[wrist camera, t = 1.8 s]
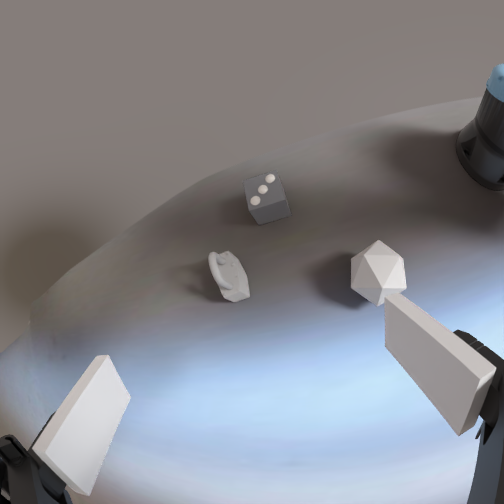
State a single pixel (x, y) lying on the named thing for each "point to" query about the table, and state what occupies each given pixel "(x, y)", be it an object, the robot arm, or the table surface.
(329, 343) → the table surface
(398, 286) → the die
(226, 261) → the padlock
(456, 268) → the table surface
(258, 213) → the dotted block
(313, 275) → the table surface
